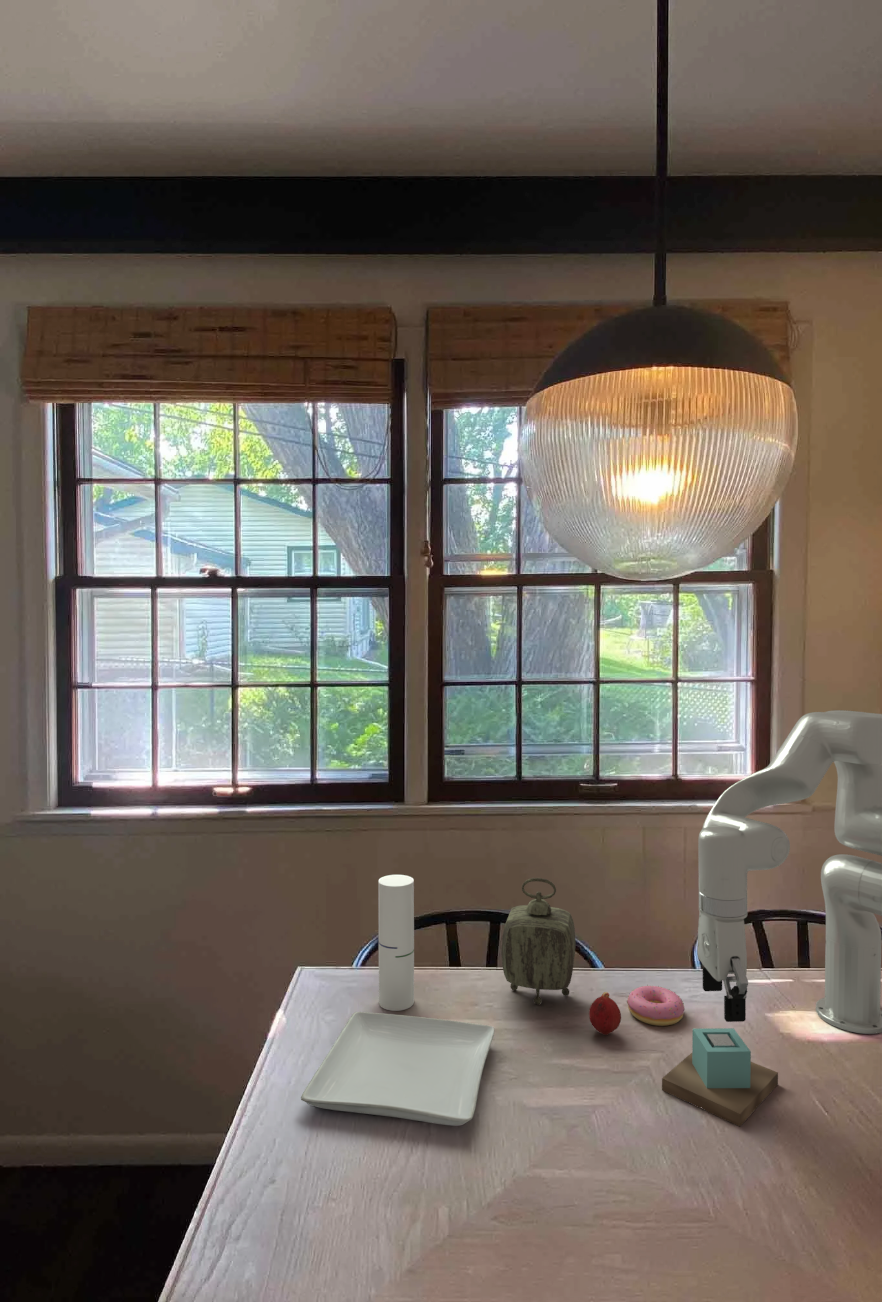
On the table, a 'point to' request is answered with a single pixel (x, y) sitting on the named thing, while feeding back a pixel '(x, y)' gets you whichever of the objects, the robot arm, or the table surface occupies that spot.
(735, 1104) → the post board
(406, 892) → the cylindrical container
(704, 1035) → the collar
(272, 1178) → the table surface
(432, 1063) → the square plate
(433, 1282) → the table surface
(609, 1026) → the onion
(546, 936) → the tabletop clock
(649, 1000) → the doughnut
